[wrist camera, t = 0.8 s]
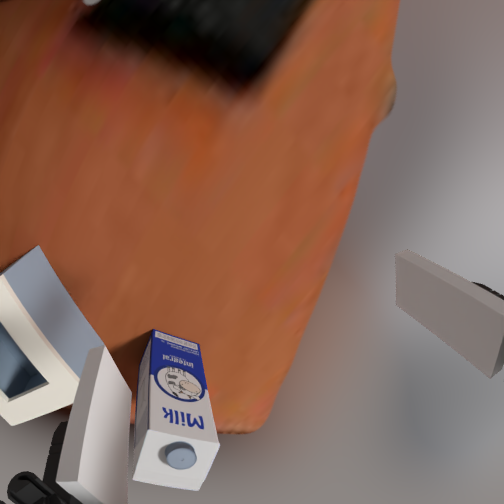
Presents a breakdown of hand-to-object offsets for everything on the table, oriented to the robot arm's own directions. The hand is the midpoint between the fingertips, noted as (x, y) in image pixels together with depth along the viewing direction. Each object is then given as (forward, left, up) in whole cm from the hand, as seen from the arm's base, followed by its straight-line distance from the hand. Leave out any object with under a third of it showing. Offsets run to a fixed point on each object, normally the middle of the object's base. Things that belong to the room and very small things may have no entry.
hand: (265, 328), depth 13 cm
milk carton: (+15, -14, -27) cm, 34 cm away
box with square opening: (+1, -29, -27) cm, 39 cm away
